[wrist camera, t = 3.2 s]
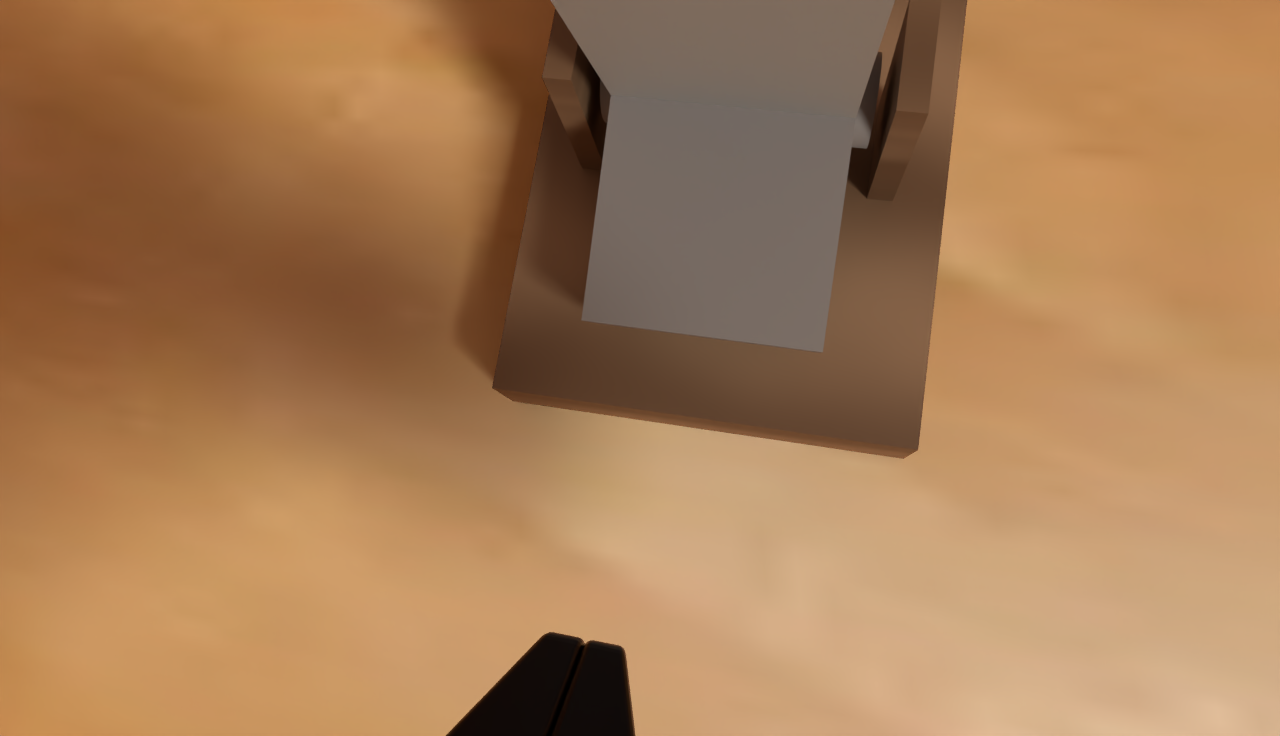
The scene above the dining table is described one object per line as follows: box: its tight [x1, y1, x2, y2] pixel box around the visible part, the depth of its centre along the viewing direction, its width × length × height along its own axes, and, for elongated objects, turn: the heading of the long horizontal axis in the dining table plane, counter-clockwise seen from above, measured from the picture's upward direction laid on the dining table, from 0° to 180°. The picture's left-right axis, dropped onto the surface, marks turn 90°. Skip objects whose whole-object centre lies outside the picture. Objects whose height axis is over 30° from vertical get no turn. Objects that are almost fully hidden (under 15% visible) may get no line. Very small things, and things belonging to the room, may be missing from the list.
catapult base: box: [492, 0, 967, 459], centre depth 21 cm, size 12×10×6 cm
